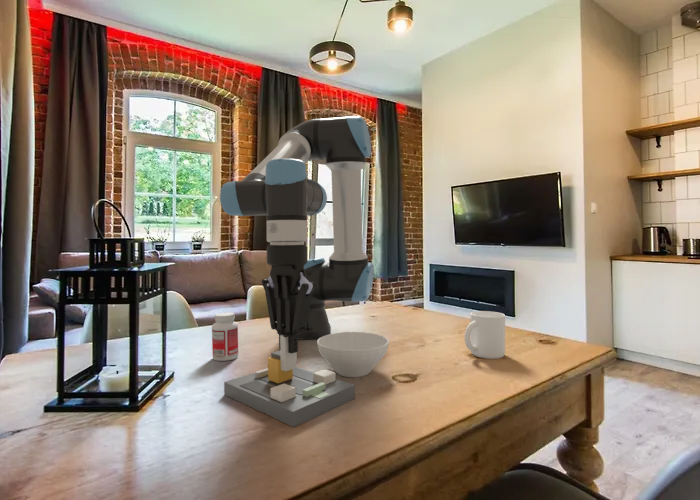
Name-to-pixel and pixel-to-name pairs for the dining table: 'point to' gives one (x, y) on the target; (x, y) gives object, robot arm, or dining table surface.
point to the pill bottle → (225, 337)
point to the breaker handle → (277, 369)
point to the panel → (291, 406)
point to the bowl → (353, 352)
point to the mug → (486, 334)
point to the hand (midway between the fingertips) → (288, 368)
